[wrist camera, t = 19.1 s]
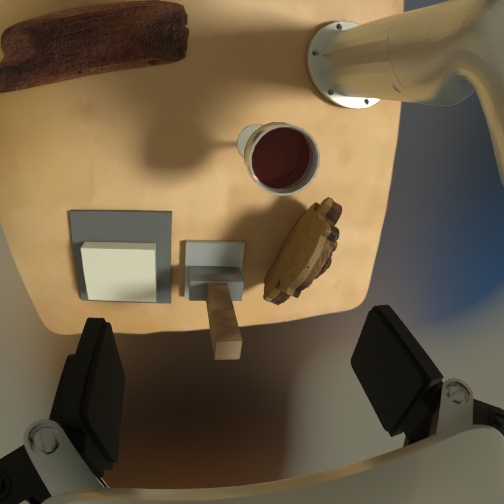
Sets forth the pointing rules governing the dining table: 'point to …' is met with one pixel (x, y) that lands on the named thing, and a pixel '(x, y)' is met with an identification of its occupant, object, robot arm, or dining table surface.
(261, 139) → the wineglass
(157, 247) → the rubber mat
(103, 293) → the tile
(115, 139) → the dining table surface
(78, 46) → the wooden tablet
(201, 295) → the brown grey t-shaped piece
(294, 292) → the wooden carving
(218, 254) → the pad
